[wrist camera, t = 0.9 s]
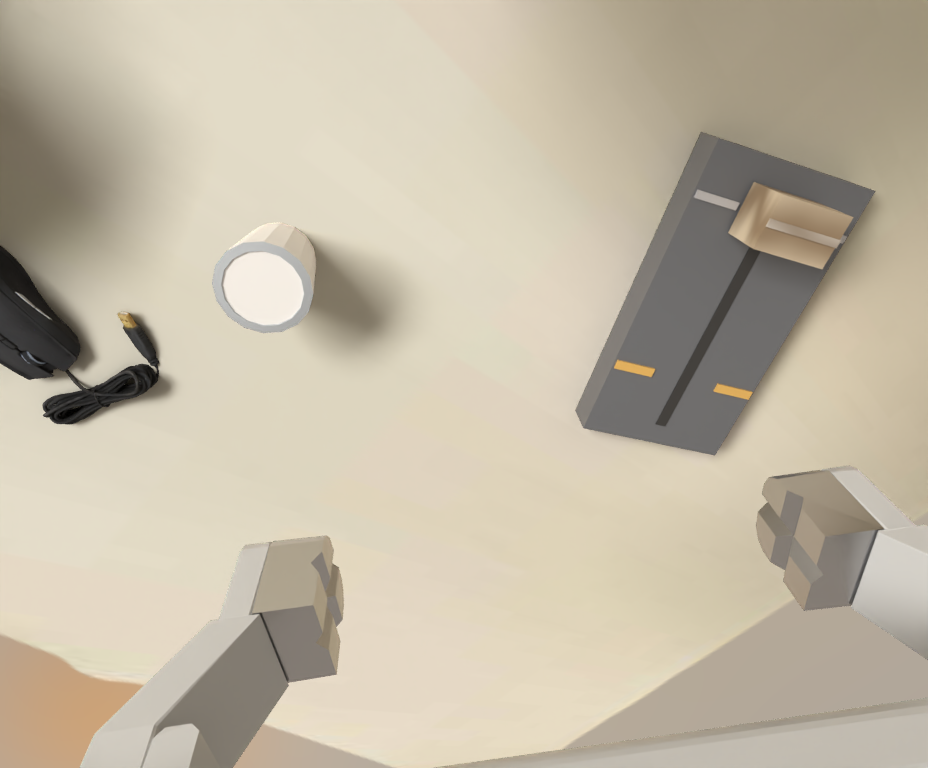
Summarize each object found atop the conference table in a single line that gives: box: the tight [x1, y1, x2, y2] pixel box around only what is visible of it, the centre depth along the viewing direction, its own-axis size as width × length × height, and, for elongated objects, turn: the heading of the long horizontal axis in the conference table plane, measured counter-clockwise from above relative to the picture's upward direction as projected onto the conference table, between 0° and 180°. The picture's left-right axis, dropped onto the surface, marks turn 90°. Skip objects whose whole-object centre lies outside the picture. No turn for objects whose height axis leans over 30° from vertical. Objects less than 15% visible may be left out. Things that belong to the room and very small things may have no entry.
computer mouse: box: [0, 246, 159, 424], centre depth 48 cm, size 12×18×4 cm
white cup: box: [212, 223, 316, 333], centre depth 46 cm, size 7×7×7 cm
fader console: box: [575, 132, 875, 455], centre depth 53 cm, size 26×14×3 cm, turn 164°
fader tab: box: [728, 182, 854, 269], centre depth 45 cm, size 4×6×4 cm, turn 74°
